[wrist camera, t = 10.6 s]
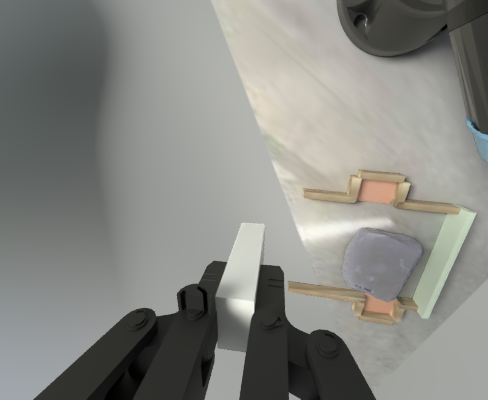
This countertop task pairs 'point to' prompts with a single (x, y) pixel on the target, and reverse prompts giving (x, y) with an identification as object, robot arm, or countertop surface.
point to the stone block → (380, 262)
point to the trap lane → (439, 263)
